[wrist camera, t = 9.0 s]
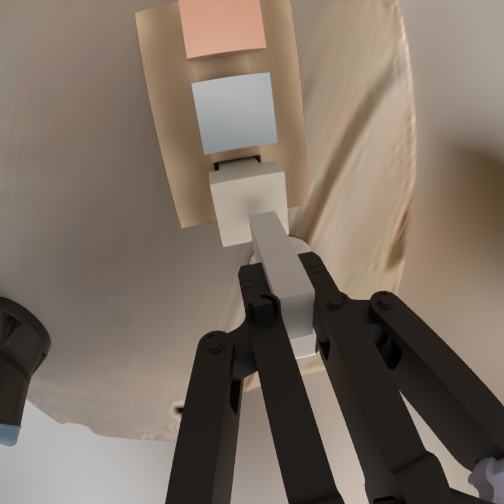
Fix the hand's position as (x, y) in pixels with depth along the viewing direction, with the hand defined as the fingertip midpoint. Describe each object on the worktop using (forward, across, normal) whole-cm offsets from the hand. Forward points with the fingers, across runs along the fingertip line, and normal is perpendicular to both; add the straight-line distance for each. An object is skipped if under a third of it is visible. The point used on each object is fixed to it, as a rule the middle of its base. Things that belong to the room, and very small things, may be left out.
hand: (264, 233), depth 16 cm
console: (+14, 0, +6) cm, 16 cm away
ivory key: (+10, 0, 0) cm, 10 cm away
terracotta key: (+11, 0, +13) cm, 17 cm away
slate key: (+11, 0, +7) cm, 13 cm away
